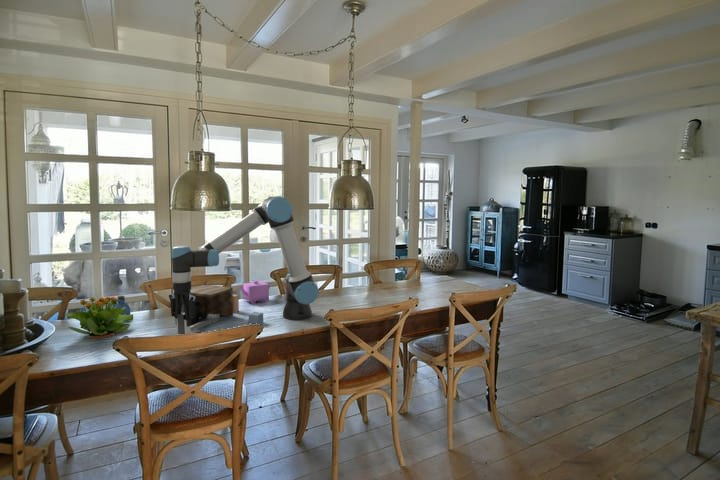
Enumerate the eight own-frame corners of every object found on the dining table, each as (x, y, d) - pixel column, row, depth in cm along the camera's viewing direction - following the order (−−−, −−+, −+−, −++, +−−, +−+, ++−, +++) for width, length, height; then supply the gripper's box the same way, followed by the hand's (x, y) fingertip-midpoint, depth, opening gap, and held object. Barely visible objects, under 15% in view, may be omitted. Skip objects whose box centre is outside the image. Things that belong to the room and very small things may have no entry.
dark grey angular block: (220, 320, 206) (220, 302, 205) (184, 334, 185) (183, 315, 184) (200, 316, 211) (200, 299, 210) (162, 330, 190) (161, 311, 189)
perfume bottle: (126, 317, 215) (125, 294, 214) (130, 319, 211) (129, 296, 209) (113, 319, 211) (112, 296, 209) (117, 322, 206) (115, 298, 205)
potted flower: (125, 342, 178) (123, 302, 176) (59, 348, 170) (56, 307, 168) (135, 325, 202) (133, 290, 200) (77, 330, 194) (75, 293, 192)
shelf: (233, 315, 220) (232, 287, 219) (211, 324, 204) (210, 294, 202) (205, 311, 226) (204, 284, 225) (181, 320, 210) (180, 291, 208)
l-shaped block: (238, 311, 229) (238, 294, 228) (234, 312, 226) (234, 296, 225) (215, 308, 234) (214, 292, 233) (211, 309, 231) (210, 293, 230)
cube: (263, 322, 209) (263, 312, 208) (257, 325, 204) (257, 315, 203) (254, 321, 210) (254, 311, 210) (248, 324, 206) (248, 314, 205)
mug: (204, 325, 202) (203, 306, 201) (180, 325, 203) (179, 305, 202) (211, 320, 211) (210, 302, 210) (187, 320, 211) (187, 301, 210)
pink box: (266, 297, 259) (266, 278, 257) (272, 301, 250) (272, 280, 249) (234, 302, 248) (234, 281, 246) (239, 306, 239) (239, 284, 238)
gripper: (203, 281, 185) (204, 332, 187) (173, 278, 191) (175, 328, 193) (191, 284, 178) (192, 337, 180) (160, 281, 184) (162, 332, 186)
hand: (183, 332), depth 187 cm, fingers closed on dark grey angular block, 4 cm apart
